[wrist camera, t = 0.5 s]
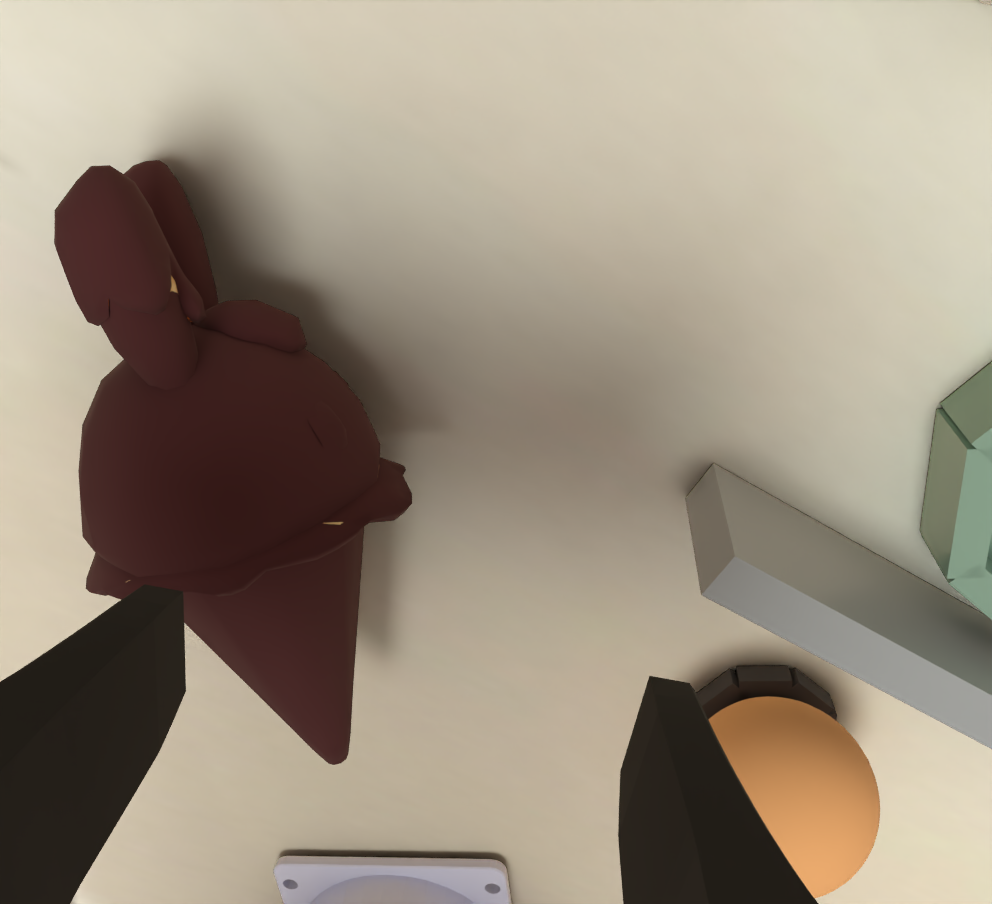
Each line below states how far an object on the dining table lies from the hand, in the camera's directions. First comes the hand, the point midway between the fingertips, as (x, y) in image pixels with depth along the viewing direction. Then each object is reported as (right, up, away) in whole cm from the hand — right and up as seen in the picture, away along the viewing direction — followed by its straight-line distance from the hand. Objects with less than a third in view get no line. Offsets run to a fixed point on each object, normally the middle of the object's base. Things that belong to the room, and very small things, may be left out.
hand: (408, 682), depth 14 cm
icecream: (-4, +4, +9) cm, 11 cm away
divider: (+13, 0, +10) cm, 16 cm away
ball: (+9, -5, +10) cm, 14 cm away
